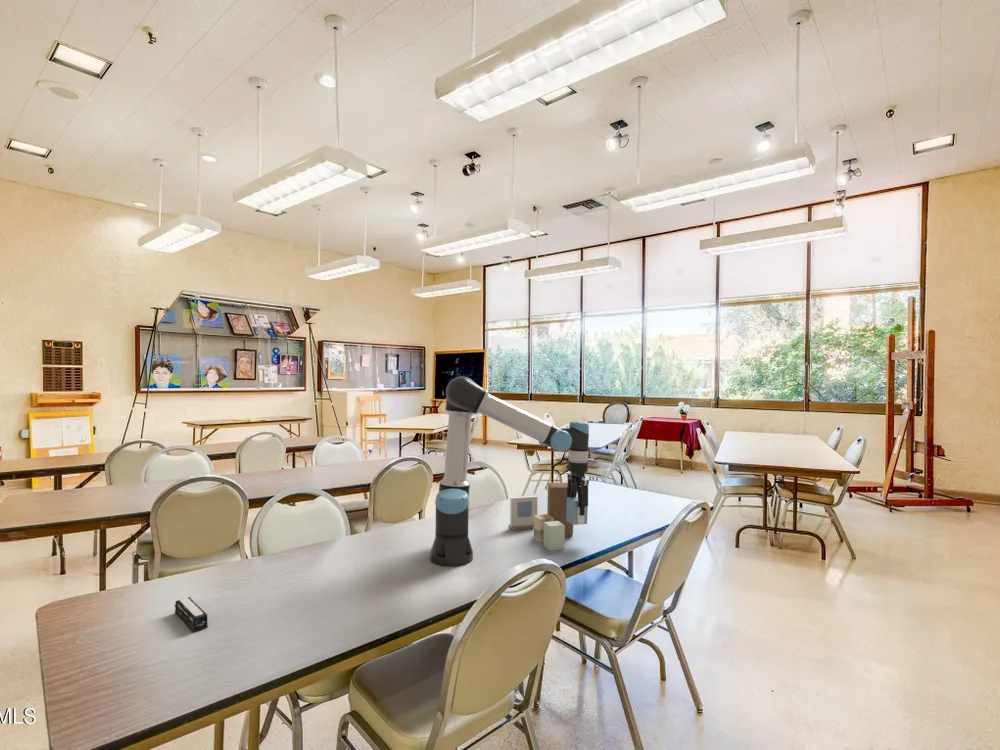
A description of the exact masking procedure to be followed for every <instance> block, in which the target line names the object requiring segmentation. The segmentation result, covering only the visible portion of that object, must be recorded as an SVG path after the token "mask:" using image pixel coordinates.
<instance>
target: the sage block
mask: <svg viewBox="0 0 1000 750" xmlns="http://www.w3.org/2000/svg"><path fill="white" fill-rule="evenodd" d="M565 538H566V536H565V525H564V524H562V523H561V522H559V521H550V522H544V542H543V547H545V548H546V549H548V550H549V551H556V550H557V551H558V550H559V551H560V550H565Z"/></svg>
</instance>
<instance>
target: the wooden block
mask: <svg viewBox="0 0 1000 750" xmlns="http://www.w3.org/2000/svg"><path fill="white" fill-rule="evenodd" d="M567 484H568V482H548V483H547V511H546V512H547V513H546V514H548V515H550V516H551V517H553V518H554V521H559V522H561V523H562V524H564V525H565V537H566V536H570V537H571V536H573V534H574V525H572V524H571V523H569V522H568V521H566V509H567Z"/></svg>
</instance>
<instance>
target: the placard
mask: <svg viewBox="0 0 1000 750" xmlns="http://www.w3.org/2000/svg"><path fill="white" fill-rule="evenodd" d="M509 502H510V503H509V505H510V507H509V508H510V509H509V511H510V512H509V513H510V515H509V516H510V518H509V521H510V523H509V524H508V527H509V529H510V530H511V531H519V530H528V529H529V530H530V529H534V515H538V496H537V495H533V496H532V495H531V496H530V495H529V496H517V497H510V501H509Z"/></svg>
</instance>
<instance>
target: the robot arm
mask: <svg viewBox="0 0 1000 750" xmlns="http://www.w3.org/2000/svg"><path fill="white" fill-rule="evenodd" d="M445 389H446V390H445V395H446V396H445V397H446V399H445V412H446V414H447V415H448V425H447V434H446V435H447V437H446V449H445V461H444V462H445V463H444V473H443V474H444V475H443V478H442V479H441V480H439V484H438V485H439V486H438V492H437V493H436V495H435V500H434V502H435V503H434V504H435V505H434V506H435V536H434V540H433V543H432V547H431V549H430V552H429V555H430V556H429V560H430V562H432V563H434V564H436V565H439V566H444V567H445V566H446V567H448V566H449V567H455V566H462V565H465V564H469V563H470V562H471V561H473V558H474V549H473V548H472V544H471V541H470V537H469V507H470V499H469V498H470V486H471V483H470V481H469V480H468V479H467V477H468V476H467V475H468V464H469V463H468V462H469V461H468V460H469V452H470V451H469V449H470V440H471V439H470V437H471V427H472V426H471V425H472V417H473V416H474V415H478V414H481V415H483V416H486V417H488V418H490V419H492V420H494V421H496V422H498V423H500V424H502V425H504V426H507V427H509V428H511V429H512V430H514V431H516V432H519V433H521V434H523V435H525V436H527V437H529V438H531V439H532V440H533V439H534V440H536V441H538V443H539V445H540V446H545V447H550V448H552V449H553V450H555V451H557V452H566V451H568V463H567V464H568V466H567V467H568V471H569V472H571V473H568V474H567V475H566V476H567V483H568V484H567V497H578V503H579V505H578V506H577V524H579V525H585V524H584V514H585V507H586V506H588V507H589V483H590V481H589V479H586V475H585V474H586V473H587V472H588V471H589V463H588V461H589V454H590V453H589V441H590V440H589V439H590V438H589V437H590V431H589V429H590V426H589V423H588V422H587V421H580V420H574V421H573V420H572V421H570V422H569V424H568V425H567V426H562V425H560V426H558V425H555V424H552V423H551V422H548V421H546V420H543V419H541V418H539V417H537V416H536V415H533V414H531V413H529V412H527V411H525V410H523V409H521V408H519V407H516V406H515V405H512V404H511V403H509V402H506V401H504V400H502V399H500V398H498V397H496V396H494V395H492V394H490V393H489V390H488V389H486V388H484V387H482V386H480V385H479V384H477V383H476V382H475V381H474V380H473V379H472V378H470V377H469V376H464V375H463V376H457V377H454V378H452V379H451V380H450V381H449V382H448V384H447V386H446V388H445Z"/></svg>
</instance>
